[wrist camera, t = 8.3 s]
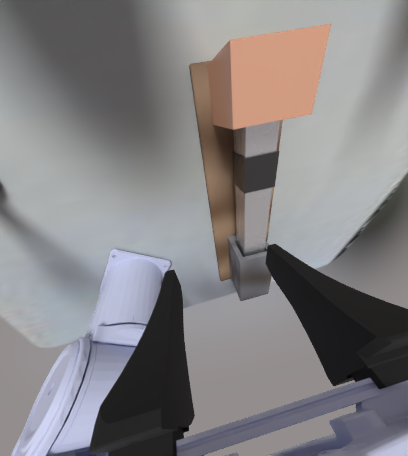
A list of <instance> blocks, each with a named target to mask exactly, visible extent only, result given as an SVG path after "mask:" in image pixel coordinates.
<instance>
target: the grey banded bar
mask: <svg viewBox="0 0 408 456" xmlns="http://www.w3.org/2000/svg"><path fill="white" fill-rule="evenodd" d="M279 125H280V120H279V121H274V122H269V123H264V124H259V125H254V126H249V127H244V128H239V129H234V151H232V163H233V183H234V184H235V196H236V229H237V247H238V249H239V251H240V252H241V254H242V256H243V257H246V256H250V255H254V254H258V253H262V252H264V251H265V243H266V234H267V226H268V217H269V209H270V201H271V192H272V187H275V180H276V172H277V164H278V157H279V151H277V142H278V134H279Z"/></svg>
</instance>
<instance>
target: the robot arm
mask: <svg viewBox="0 0 408 456" xmlns="http://www.w3.org/2000/svg"><path fill="white" fill-rule="evenodd" d="M113 255H115V256H113ZM265 264H266V266H267V268H268V270H269V272H270V274H271V275H272V277H273V278H274V280H275V281H276V283H277V284H278V286H279V287H280V289H281V290H282V292H283V293H284V294H285V296H286V298H287V299H288V301H289V302H290V304H291V305H292V307H293V309H294V310H295V312H296V314H297V316H298V318H299V319H300V321H301V323H302V325H303V327H304V329H305V331H306V333H307V334H308V337H309V339H310V341H311V342H312V345H313V347H314V349H315V351H316V353H317V355H318V357H319V359H320V361H321V364H322V365H323V368H324V370H325V372H326V375H327V377H328V379H329V380H330V382H331V383H332V385H333V386H336V385H339V384H343V383H345V382H349V381H352V380H355V383H351V384H348V385H346V386H342V387H339V388H337V389H333V390H330V391H327V392H324V393H321V394H318V395H315V396H312V397H309V398H306V399H303V400H299V401H297V402H294V403H291V404H287V405H284V406H281V407H278V408H275V409H273V410H269V411H266V412H263V413H260V414H257V415H254V416H251V417H248V418H244V419H241V420H238V421H235V422H232V423H229V424H226V425H223V426H220V427H217V428H214V429H211V430H208V431H205V432H202V433H199V434H196V435H192V436H190V437H187V438H184V435H183V432H187V431H189V425H191V423H192V421H193V418H194V409H193V403H192V396H191V389H190V382H189V375H188V367H187V359H186V351H185V342H184V330H183V329H184V328H183V299H182V291H181V285H180V283H179V280H178V278H177V275H176V273H175V271H174V270H170V271H167V270H168V268H169V267H170V265H171V262H170V261H169V260H164V259H160V258H155V257H150V256H145V255H141V254H136V253H131V252H126V251H122V250H117V249H114V250H112V251H111V253H110V257H109V260H108V264H107V267H106V270H105V274H104V277H103V280H102V284H101V287H100V290H99V294H100V297H99V299H98V302H97V305H96V308H95V311H94V313H93V316H92V319H91V322H90V325H89V327H88V330H87V333H86V336H85V337H79V338H78V339H76V340H75V341H74V342H73V343H71V344H70V345H68V346H67V347H66V348H65V349H64V350H63V352H62V353H61V355H60V356H59V357H58V359H57V361H56V362H55V364H54V365H53V367H52V369H51V371H50V372H49V375H48V376H47V378H46V380H45V382H44V384H43V386H42V388H41V390H40V392H39V394H38V396H37V398H36V401H35V403H34V405H33V408H32V410H31V412H30V415H29V417H28V420H27V423H26V425H25V428H24V430H23V432H22V434H21V436H20V438H19V440H18V442H17V444H16V446H15V448H14V450H13V452H12V454H11V456H204V455H205V454H208V453H211V452H214V451H217V450H219V449H223V448H226V447H229V446H232V445H234V444H238V443H240V442H244V441H246V440H249V439H252V438H255V437H258V436H261V435H264V434H267V433H270V432H273V431H276V430H279V429H282V428H285V427H288V426H291V425H294V424H297V423H300V422H303V421H306V420H309V419H312V418H315V417H317V416H320V415H323V414H326V413H329V412H333V411H335V410H338V409H341V408H344V407H347V406H350V405H353V404H356V403H357V404H356V412H354V413H350V414H346V415H343V416H340V417H338V418H335V419H333V420H330V425H331V426H332V428H333V430H334V432H335V434H332V435H329V436H326V437H322V438H319V439H316V440H312V441H309V442H306V443H303V444H299V445H296V446H293V447H290V448H287V449H284V450H281V451H278V452H275V453H273V454H270V455H267V456H408V309H406V308H403V307H400V306H397V305H394V304H391V303H388V302H385V301H383V300H380V299H378V298H375V297H372V296H370V295H367V294H365V293H362V292H360V291H358V290H355V289H353V288H351V287H349V286H346V285H344V284H342V283H340V282H338V281H336V280H334V279H332V278H330V277H328V276H326V275H324V274H322V273H320V272H318V271H317V270H315V269H314V268H312V267H310V266H308V265H307V264H305V263H304V262H302V261H300V260H299V259H297V258H296V257H294V256H293V255H291V254H290V253H288V252H287V251H285V250H284V249H282V248H281V247H279V246H278V245H276V244H273V245H269V246H268V247H267V255H266V262H265ZM166 265H167V266H166ZM163 277H164V278H163ZM162 279H163V282H162V286H161V281H162ZM226 456H238V453H232V454H229V455H226Z"/></svg>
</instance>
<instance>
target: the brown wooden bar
mask: <svg viewBox="0 0 408 456" xmlns="http://www.w3.org/2000/svg"><path fill="white" fill-rule="evenodd" d="M210 62H211V61H207V62H201V63H195V64H190V66H189V67H190V74H191V81H192V88H193V95H194V102H195V109H196V116H197V123H198V130H199V136H200V143H201V150H202V157H203V164H204V171H205V178H206V185H207V192H208V199H209V206H210V212H211V219H212V226H213V233H214V240H215V247H216V254H217V261H218V268H219V275H220V280H221V281H224V280H228V279H231V278H232V281H233V283H234V286H235V288H236V291H237V293H238V296H239V298H240V300H241V301H243V300H247V299H250V298H254V297H258V296H261V295H265V294H268V292H269V286H270V281H271V274H270V272H269V270H268V268H267V266H266V264H265V262H266V255H267V247H268V246H269V244H268V243H267V238H268V230H269V222H270V214H271V207H272V199H273V191H274V187H272V192H271V201H270V209H269V217H268V226H267V234H266V243H265V251H264V252H262V253H258V254H254V255H250V256H246V257H243V256H242V254H241V252H240V251H239V249H238V247H237V229H236V196H235V184H234V183H233V163H232V151H234V130H232V129H228V128H224V127H220V126H216V125H213V116H212V105H211V94H210V84H209V73H208V64H209V63H210ZM281 128H282V120H280V125H279V134H278V142H277V151H279V143H280V136H281Z"/></svg>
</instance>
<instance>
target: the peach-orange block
mask: <svg viewBox="0 0 408 456" xmlns="http://www.w3.org/2000/svg"><path fill="white" fill-rule="evenodd" d="M330 27H331V24H326V25H320V26H314V27H308V28H301V29H295V30H289V31H283V32H277V33H270V34H264V35H258V36H252V37H245V38H239V39H233V40H230V41H229V42H228V43H227V44H226V45H225V46H224V47H223V49H222V50H221V51H220V52H219V53H218V54H217V55H216V56H215V58H214V59H213V60H212V61H211V62H210V63H209V64H208V73H209V84H210V94H211V105H212V116H213V125H216V126H220V127H224V128H228V129H232V130H234V129H239V128H244V127H249V126H254V125H259V124H264V123H269V122H274V121H279V120H284V119H289V118H294V117H299V116H304V115H309V114H312V111H313V106H314V101H315V97H316V92H317V87H318V83H319V78H320V74H321V69H322V64H323V60H324V55H325V50H326V46H327V41H328V37H329V32H330Z"/></svg>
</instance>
